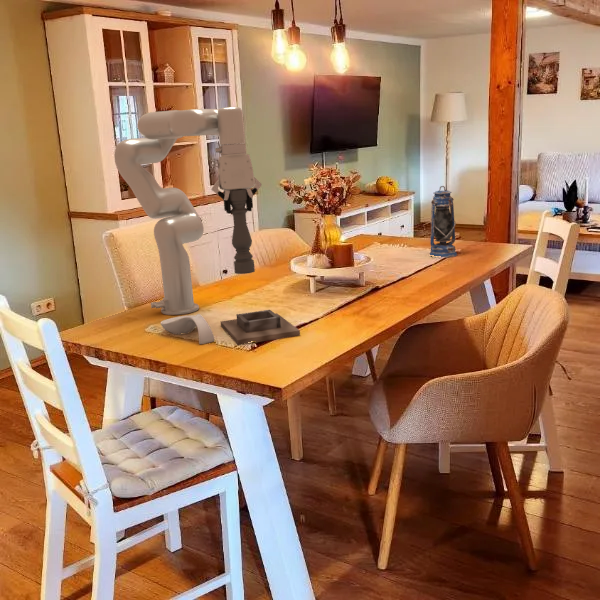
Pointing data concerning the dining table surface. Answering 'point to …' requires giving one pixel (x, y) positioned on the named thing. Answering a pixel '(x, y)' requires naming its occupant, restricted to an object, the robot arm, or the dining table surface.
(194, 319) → the spoon rest
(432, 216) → the lantern
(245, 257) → the candle holder
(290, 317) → the dining table surface
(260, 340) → the socket board
